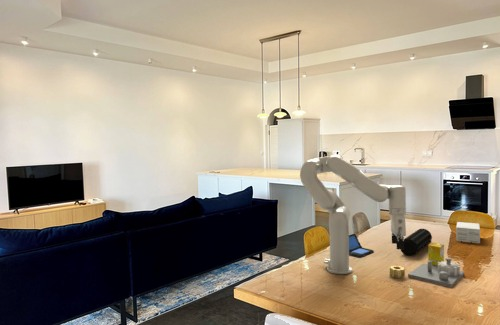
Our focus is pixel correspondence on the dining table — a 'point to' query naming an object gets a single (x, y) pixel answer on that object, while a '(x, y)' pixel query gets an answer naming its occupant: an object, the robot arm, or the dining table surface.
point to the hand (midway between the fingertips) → (397, 246)
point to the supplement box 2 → (468, 232)
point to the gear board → (438, 273)
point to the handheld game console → (357, 247)
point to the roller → (416, 242)
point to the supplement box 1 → (435, 253)
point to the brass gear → (397, 272)
